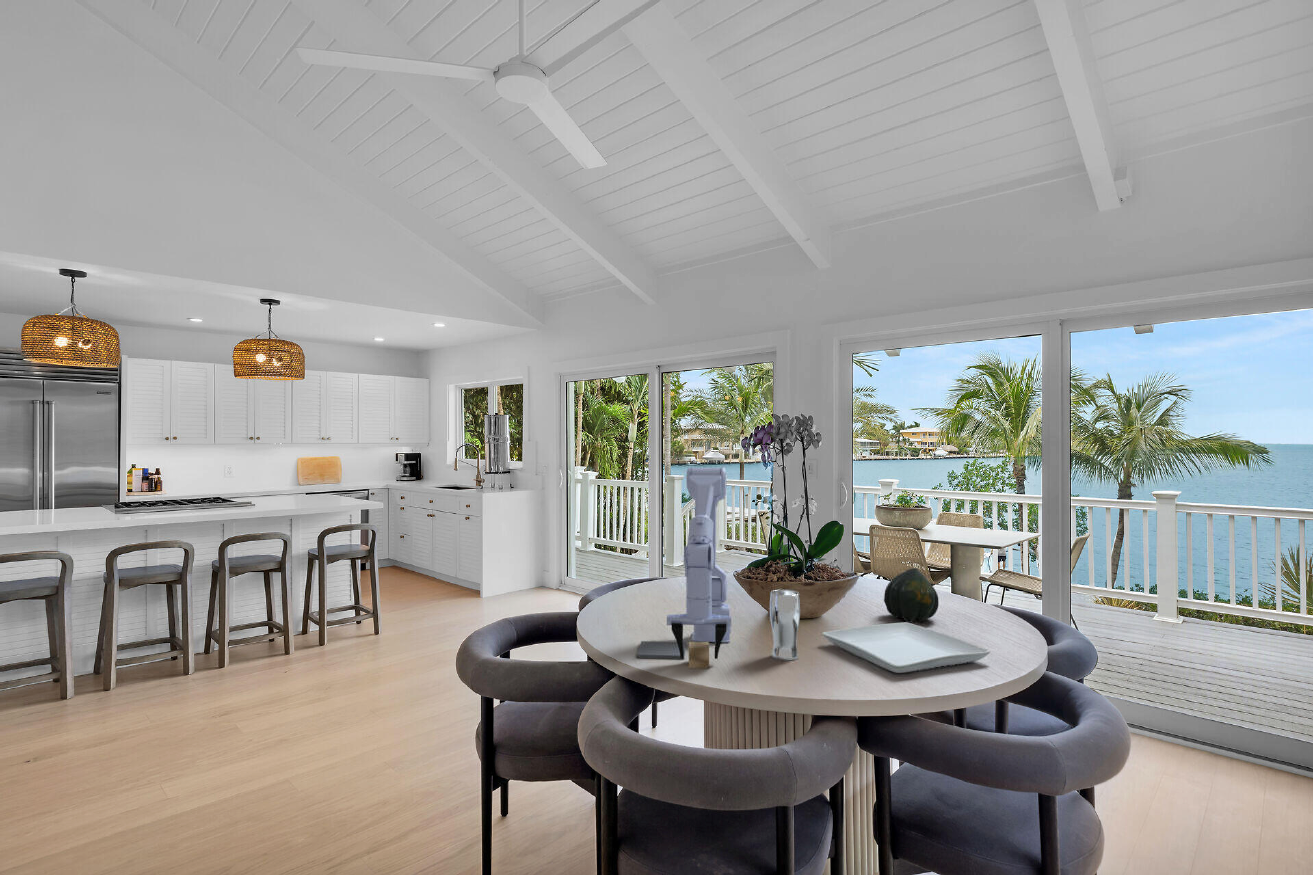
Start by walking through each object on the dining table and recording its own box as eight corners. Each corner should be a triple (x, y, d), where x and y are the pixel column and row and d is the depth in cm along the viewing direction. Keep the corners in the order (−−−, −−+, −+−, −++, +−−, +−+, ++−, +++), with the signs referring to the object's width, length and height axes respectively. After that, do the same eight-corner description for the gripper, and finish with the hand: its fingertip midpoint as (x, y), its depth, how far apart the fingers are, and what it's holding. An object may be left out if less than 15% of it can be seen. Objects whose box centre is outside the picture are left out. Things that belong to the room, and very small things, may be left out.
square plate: (820, 646, 165) (819, 630, 165) (907, 635, 175) (907, 620, 175) (896, 681, 140) (895, 663, 140) (993, 666, 150) (993, 648, 150)
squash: (883, 605, 183) (919, 564, 184) (868, 595, 198) (901, 558, 199) (923, 640, 182) (958, 599, 183) (904, 628, 197) (937, 590, 198)
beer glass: (804, 655, 157) (803, 591, 157) (794, 663, 151) (794, 596, 151) (776, 650, 160) (775, 588, 161) (765, 658, 154) (765, 593, 155)
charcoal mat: (685, 645, 165) (685, 641, 165) (684, 659, 154) (684, 655, 154) (641, 644, 166) (641, 640, 166) (636, 657, 155) (636, 654, 155)
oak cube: (709, 661, 152) (708, 642, 152) (709, 668, 148) (709, 647, 148) (689, 661, 152) (689, 641, 152) (688, 667, 148) (688, 647, 148)
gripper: (665, 600, 147) (665, 661, 147) (731, 601, 146) (732, 663, 145) (667, 593, 154) (667, 652, 154) (730, 594, 153) (730, 653, 153)
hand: (699, 657), depth 150 cm, fingers open, 7 cm apart
